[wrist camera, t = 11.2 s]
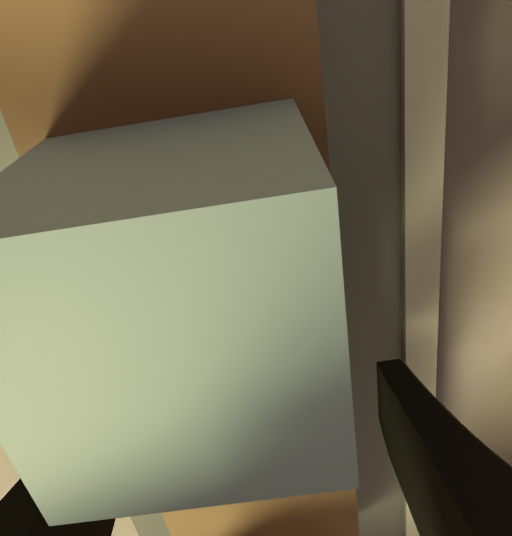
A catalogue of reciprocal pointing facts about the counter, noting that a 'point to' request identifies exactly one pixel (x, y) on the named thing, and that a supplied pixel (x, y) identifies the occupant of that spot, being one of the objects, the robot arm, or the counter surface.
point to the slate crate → (174, 317)
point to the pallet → (163, 107)
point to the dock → (378, 212)
